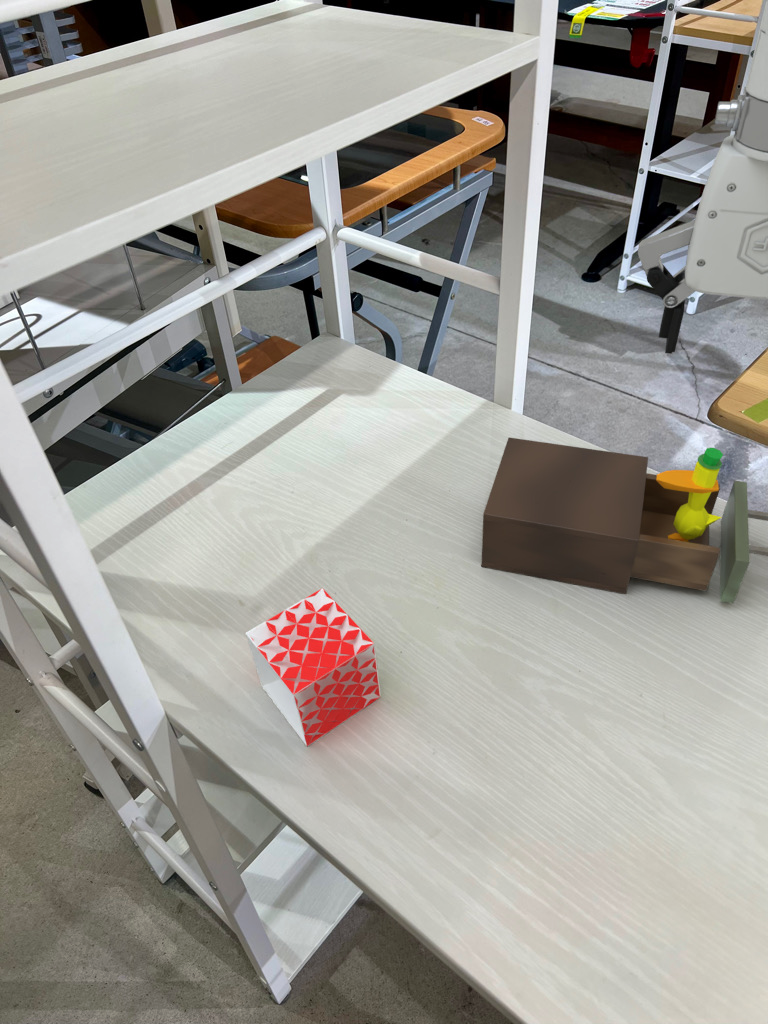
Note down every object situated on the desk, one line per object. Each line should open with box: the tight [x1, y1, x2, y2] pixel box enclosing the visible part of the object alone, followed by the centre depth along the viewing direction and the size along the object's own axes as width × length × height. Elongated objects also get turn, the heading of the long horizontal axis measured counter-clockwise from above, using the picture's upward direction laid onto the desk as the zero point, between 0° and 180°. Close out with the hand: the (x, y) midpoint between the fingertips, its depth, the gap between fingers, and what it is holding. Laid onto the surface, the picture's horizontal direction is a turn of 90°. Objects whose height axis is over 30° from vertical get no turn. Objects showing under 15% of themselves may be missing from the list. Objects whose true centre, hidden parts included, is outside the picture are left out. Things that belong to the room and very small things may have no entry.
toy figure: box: [656, 447, 724, 542], centre depth 72 cm, size 7×4×12 cm, turn 76°
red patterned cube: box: [244, 587, 382, 747], centre depth 65 cm, size 8×8×8 cm
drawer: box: [630, 473, 768, 604], centre depth 74 cm, size 18×11×6 cm, turn 72°
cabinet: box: [480, 436, 649, 595], centre depth 77 cm, size 15×13×8 cm
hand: (732, 351), depth 60 cm, fingers open, 9 cm apart
